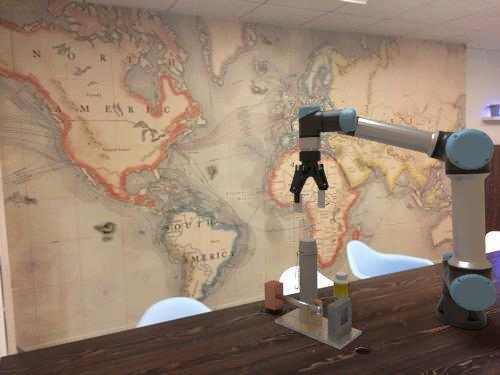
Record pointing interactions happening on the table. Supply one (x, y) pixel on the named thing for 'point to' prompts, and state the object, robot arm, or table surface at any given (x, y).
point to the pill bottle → (341, 285)
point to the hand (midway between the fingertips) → (310, 210)
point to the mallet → (283, 297)
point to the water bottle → (307, 270)
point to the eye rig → (324, 322)
